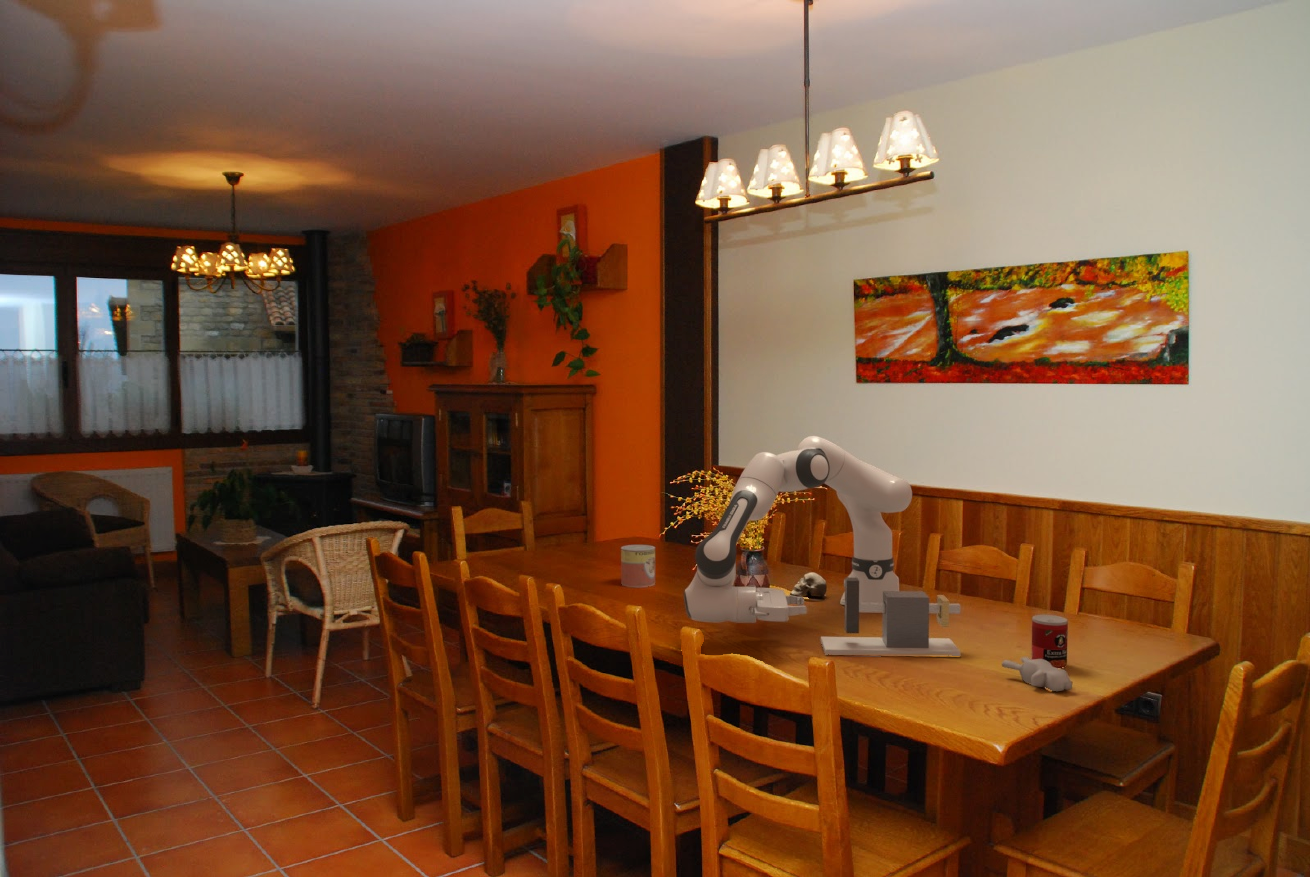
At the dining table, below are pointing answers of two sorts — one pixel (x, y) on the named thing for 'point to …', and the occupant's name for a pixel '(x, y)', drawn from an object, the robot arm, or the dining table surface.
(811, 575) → the skull
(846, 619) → the shaft
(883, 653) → the base plate
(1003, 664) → the bunny figurine
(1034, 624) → the canned food
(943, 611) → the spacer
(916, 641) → the block
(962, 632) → the dining table surface
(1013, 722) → the dining table surface
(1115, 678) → the dining table surface
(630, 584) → the canned food
